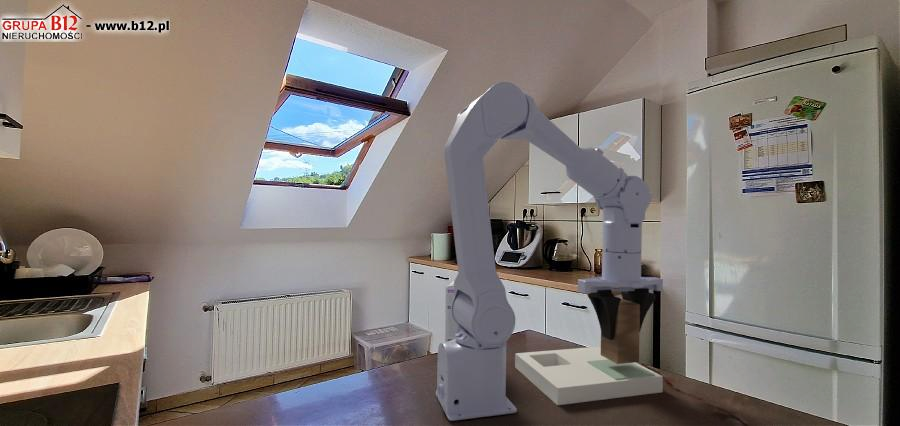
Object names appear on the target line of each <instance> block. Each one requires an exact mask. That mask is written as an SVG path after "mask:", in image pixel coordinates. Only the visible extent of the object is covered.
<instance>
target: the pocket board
mask: <svg viewBox="0 0 900 426" xmlns="http://www.w3.org/2000/svg"><path fill="white" fill-rule="evenodd" d="M596 360H607V358H605V357H603V356H601V345H599V346H589V347H588V346H587V347H579V348H577V347H576V348H566V349H565V348H563V349H554V350H553V349H552V350H542V351H529V352H518V353H517V352H516V353H515V354H514V367H515V369H516V370H518V371H519V373H520V374H521V375H523V376H524V378H527V380H528V381H530V382H531V384H533V385H534V386H535V387H537V389H538V390H540V391H541V392H542V393H543V394H544V395H545V396H546V397H547V398H548V399H549V400H551V401H552V402H553V403H554V404H555V405H556V406H562V405H563V406H564V405H571V404H578V403H579V404H580V403H585V402H593V401H594V402H595V401H602V400H609V399H612V400H613V399H618V398H626V397H634V396H643V395H649V394H658V393H663V387H664V386H663V383H664V382H663V381H664V379H663V377H664V376H663V375H661V374H659V373H657V372H655V371H653V370H651V369H648V368H647V367H645V366H643V365H641V364H639V363H638V362H634V364H636V365H638V366H640V367H641V368H643V369H645V370H647V371H649V372H651V373H653V374H655V376H647V377H638V378H629V379H620V380H615V379H613V378H612V377H610V376H609V375H607V374H605V373H604V372H602V371H600V370H599V369H597V368H595V367H594V366H592V365H591V364H589V363H587V361H596Z"/></svg>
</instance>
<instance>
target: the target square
mask: <svg viewBox="0 0 900 426" xmlns="http://www.w3.org/2000/svg"><path fill="white" fill-rule="evenodd" d="M587 363H589V364H591V365H592V366H594V367H595V368H597V369H599V370H600V371H602V372H604V373H605V374H607V375H609V376H610V377H612V378H613V379H615V380H620V379H629V378H638V377H647V376H655V374H653V373H651V372H649V371H647V370H645V369H643V368H641V367H640V366H638V365H636V364H634V363H624V364H616V363H614V362H612V361H611V360H609V359H607V360H596V361H587Z"/></svg>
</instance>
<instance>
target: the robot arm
mask: <svg viewBox="0 0 900 426" xmlns="http://www.w3.org/2000/svg"><path fill="white" fill-rule="evenodd" d="M498 140H525V141H528V142H529V143H530V144H532V145H533V146H535V147H537V148H538V149H540V151H543V152H544V153H545V154H547V155H549V156H551V158H553V159H555V160H556V161H557V162H559V163H561V164H563V165H564V166H565V172H566V176H567V178H569V180H572V182H574V183H575V184H576V185H578V186H579V187H580V188H582V189H583V190H584V191H586V192H587V193H589V194H590V195H591V196H592V197H594V202H595V204H596V206H597V208H598V209H599V210H601V211H602V245H601V246H602V250H601V251H602V253H601V254H602V255H601V256H602V257H601V276H599V277H591V278H590V277H588V278H579V279H577V292H579V293H581V294H584V295H587V297H588V299H589V301H590V303H591V305H592V306H593V308H594V311H595V313H596V317H597V320H598V324H599V328H600V334H601V333H602V336H603V337H605V338H607V339H609V340H613V339H614V336H615V325H616V315H617V310H618V306H619V303H620V301H621V299H624V300H627V301H631V302H634V303H637V304H640V331H641V330H642V326H643V323H644V321H645V317H646V316H647V314H648V311H649V310H650V308H651V306H652V305H653V303H655V301H656V294H655V293H653V292H650V291H656V292H660V291H661V292H663V291H664V279H663V278H660V277H655V276H653V277H652V276H642V246H643V245H642V238H643V237H642V235H643V233H642V232H643V231H642V230H643V225H642V224H643V223H644V220H645V221H646V211H647V209H648V208H649V206H650V204H651V201H652V198H653V196H652V195H653V194H652V193H650V189H649V186H648V184H647V182H646V181H644V180H643V179H642V178H641V177H639V176H637V175H628V174H627V173H626V172H625V169H624V168H622V167H621V166H617V165H615V163H613V162H612V161H611V160H610V159H608V157H606V156H604V151H603V150H602V149H600V148H599V147H597V148H595V147H592V146H588V147H583V148H581V147H580V146H579V145H578V144H577V142H575V141H574V140H573V139H571V138H570V137H569V136H568V135H567V134H566V133H565V132H563V131H562V130H561V129H560V128H559V127H558V126H557V125H556V124H555V123H554V122H553V121H551V119H549V118H548V117H547V116H546V115H545V114H544V113H543V112H541V111H540V110H539V107H538V105H537V102H536V101H535V99H534V97H532V96H531V95H528V94H527V93H524V91H522V89H521V88H520V87H519V86H517V85H516V84H514V83H511V82H507V81H500V82H497V83H495V84H493V85H492V86H490V87H489V88H488V89H487V90H486V91H485V92H484V93H483V94H482V95H480V96H479V97H477V98H476V99H475V100H473V101H471V102H470V103H469V104H467V105H466V106H465V107H464V108H463V109H462V110H461V111H460V112H459V113H458V114H457V116H456V121H455V123H454V125H453V128H452V130H451V132H450V134H449V136H448V139H447V140H446V142H445V145H444V151H443V155H444V162H445V163H444V164H445V172H446V179H447V186H448V187H447V188H448V197H449V204H450V213H451V221H452V228H453V229H452V230H453V238H454V247H455V255H456V263H457V271H458V273H457V275H456V277H455V280H453V281H454V297H453V300H452V303H451V314H452V317H453V319H454V321H455V322H456V323H457V324H458V328H457V330H456V334H455V339H453V340H451V341H448V342H445V341H443V342H440V343H439V345H438V349H437V359H436V361H437V366H436V367H437V372H436V377H437V378H436V391H435V396H436V398H437V399H438V402H439V404H440V405H441V408H442V410H443V412H444V413H445V415H446V417H447V419H448V420H449V421H454V422H455V421H459V420H460V421H461V420H468V419H477V418H483V417H486V418H487V417H492V416H494V417H495V416H501V415H502V416H503V415H509V414H515V413H517V407H516V406H515V405H514V404H513V403H512V402H511V400H510V399H509V398H508V397H507V396H506V390H507V389H506V388H507V387H506V384H507V341H508V340H509V339H510V337H511V336H512V335H513V333H514V331H515V327H516V315H515V310H514V309H513V308H512V306H511V304H510V302H509V301H508V298H507V292H506V287H505V285H504V283H503V282H502V280H501V278H500V275H498V272H497V269H496V260H495V252H494V242H493V235H492V226H491V217H490V209H489V201H488V200H489V199H488V192H487V191H488V190H487V189H488V188H487V182H486V181H487V180H486V171H485V165H484V157H485V156H486V155H487V153H489V151H490V150H491V149H492V148H493V146H494V145H495V144H496V143H497V142H498ZM616 292H620V293H621V297H622V298H620V297H617V296H615V295H614V293H616Z"/></svg>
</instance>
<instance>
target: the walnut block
mask: <svg viewBox="0 0 900 426" xmlns="http://www.w3.org/2000/svg"><path fill="white" fill-rule="evenodd" d="M620 299H621V301H620V303H619V306H618V310H617V315H616V325H615V336H614V339H613V340H609V339H607V338H605V337H603V336H602V333H601V332H600V346H601V356H603V357H605V358H607V359H609V360H611V361H612V362H614V363H616V364H624V363H634V362H635V363H639V362H640V334H641V330H640V304H637V303H634V302H631V301H627V300H624V299H623V298H620Z"/></svg>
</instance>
